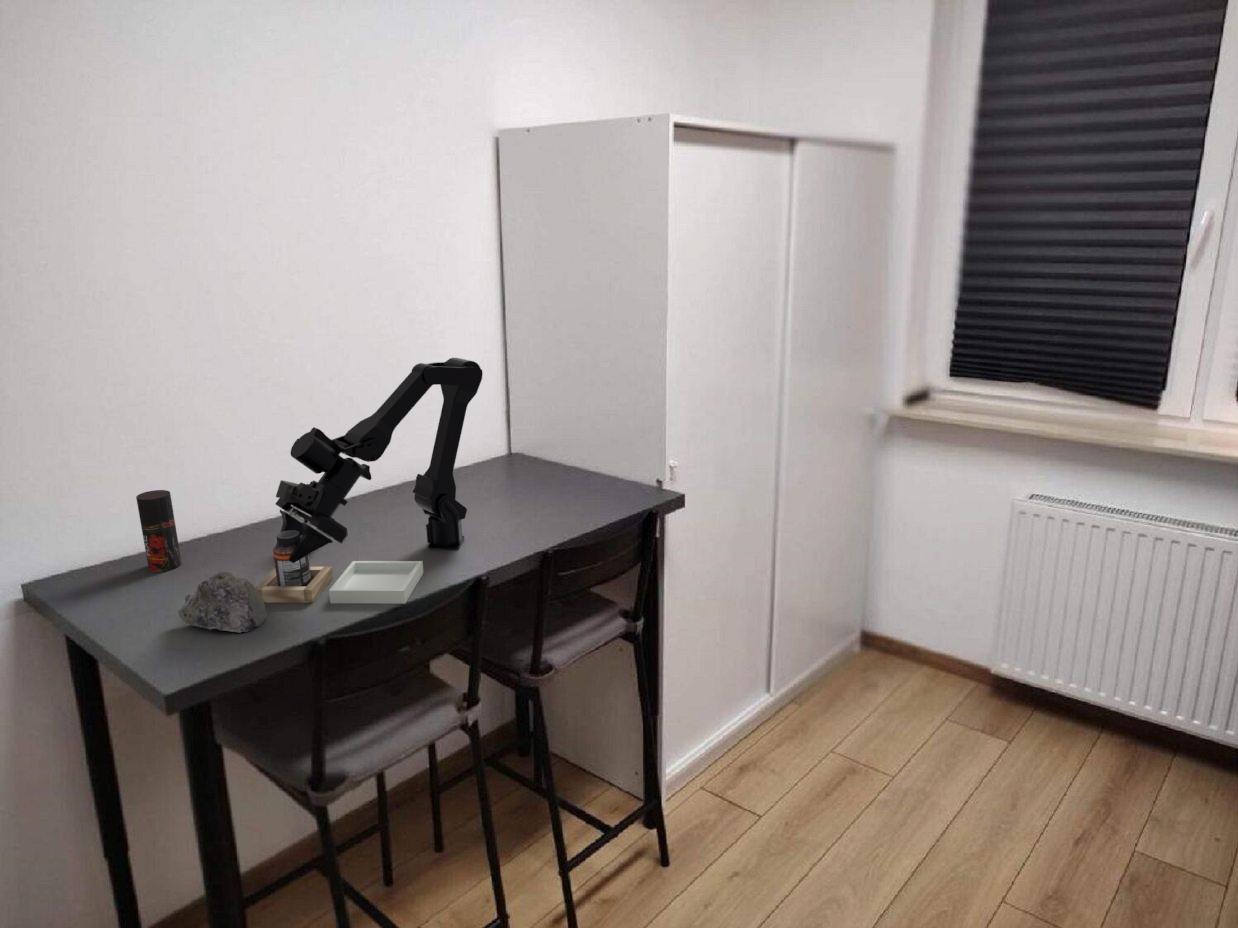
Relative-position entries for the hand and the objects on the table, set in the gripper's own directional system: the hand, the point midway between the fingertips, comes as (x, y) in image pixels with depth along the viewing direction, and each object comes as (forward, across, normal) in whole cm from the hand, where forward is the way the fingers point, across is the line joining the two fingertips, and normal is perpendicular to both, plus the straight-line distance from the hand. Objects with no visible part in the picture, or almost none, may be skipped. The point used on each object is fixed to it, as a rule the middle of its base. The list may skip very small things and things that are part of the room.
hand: (283, 557), depth 163 cm
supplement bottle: (+4, 0, +6) cm, 7 cm away
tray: (-4, +10, +14) cm, 18 cm away
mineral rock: (+14, +5, -4) cm, 16 cm away
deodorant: (+14, -30, -4) cm, 33 cm away
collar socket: (+4, 0, +6) cm, 7 cm away
